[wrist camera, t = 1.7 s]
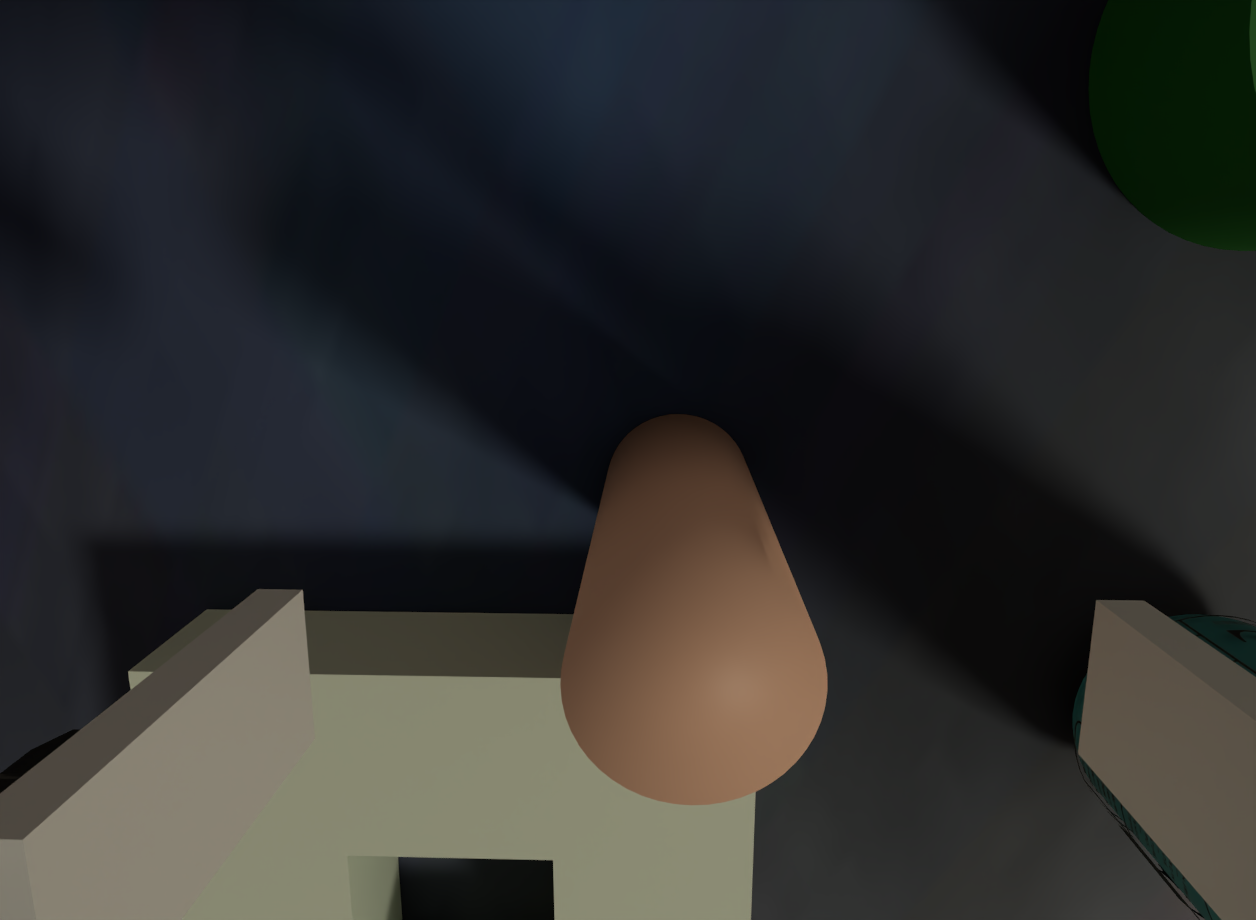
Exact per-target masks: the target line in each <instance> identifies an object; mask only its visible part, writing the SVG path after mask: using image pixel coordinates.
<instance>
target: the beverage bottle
mask: <svg viewBox="0 0 1256 920" xmlns="http://www.w3.org/2000/svg"><path fill="white" fill-rule="evenodd" d="M1219 616H1223V615H1202V614H1186V615H1178V616H1171V617H1169V618H1170V619H1172V620H1173V621H1175V622H1176V623H1178V624H1179V625H1180V626H1182V627H1183V628H1185V629H1186V630H1188V631H1189V632H1191V633H1192V634H1194V635H1195V636H1197V637H1198V638H1199V639H1201V640H1202V641H1204V642H1205V643H1207V644H1208V645H1210V646H1211V647H1213V648H1214V649H1216V650H1217V651H1218V652H1220V653H1221V654H1223V655H1224V656H1226V657H1227V658H1229V659H1230V660H1232V661H1233V662H1234V663H1236V664H1237V665H1239V666H1240V667H1242V668H1243V669H1245V670H1246V671H1248V672H1249V673H1251V674H1252V675H1253V676H1255V677H1256V627H1255V626H1256V625H1254V626H1252V624H1251V625H1250V624H1249V623H1244V622H1241V621H1238V620H1234V619H1229V618H1225V617H1233V616H1224V617H1219ZM1234 618H1239V617H1234ZM1240 619H1243V618H1240ZM1245 620H1247V619H1245ZM1249 621H1251V620H1249ZM1253 622H1254V621H1253ZM1087 673H1088V672H1087ZM1086 681H1087V674H1086V676H1085V677H1084V679H1083V681H1082V683H1081V685H1080V687H1079V690H1078V693H1077V696H1076V699H1075V703H1074V709H1073V723H1072V727H1073V735H1074V746H1075V754H1076V748H1077V752H1078V748H1079V739H1080V731H1081V723H1082V714H1083V706H1084V698H1085V689H1086ZM1075 744H1076V745H1075ZM1079 757H1080V761H1081V763H1082V766H1083V768H1084V772H1085V773H1086V774H1087V776H1088V777H1089V779H1090V782H1091V783H1092V784H1093V785H1094V786H1095V788H1096V791H1097V790H1098V791H1099V793H1100V794H1101V795H1102V796H1103V797H1104V799H1105V800H1106V801H1107V803H1109V804H1108V805H1110V806H1111V807H1112V808H1113V809H1114V811H1115V812H1116V813H1117V814H1118V815H1119V817H1120V819H1121V820H1123V821H1124V823H1125V828H1127V826H1128V828H1127V830H1128V829H1129V830H1131V831H1132V832H1133V833H1134V834H1135V836H1136V837H1137V838H1138V839H1139V840H1140V842H1141V843H1142V844H1143V845H1144V846H1145V848H1146V849H1147V850H1148V851H1149V852H1150V854H1151V855H1152V856H1153V857H1154V858H1155V860H1156V861H1157V862H1158V863H1159V864H1160V865H1159V864H1158V865H1159V866H1160V867H1161V868H1162V870H1163V871H1160V870H1159V869H1158V868H1157V867H1156V866H1155V865H1154V863H1153V862H1152V861H1151V860H1150V859H1149V857H1148V856H1147V855H1146V854H1145V853H1144V851H1143V850H1142V849H1141V848H1140V846H1139V845H1138V844H1137V843H1136V842H1135V840H1134V839H1133V838H1132V837H1133V836H1132V835H1130V833H1128V832H1129V830H1128V832H1127V831H1126V829H1125V828H1124V827H1123V824H1122V823H1120V822H1119V821H1118V820H1117V819H1116V817H1115V816H1116V815H1115V814H1114V815H1115V816H1114V815H1113V813H1112V812H1111V811H1110V810H1109V809H1108V808H1106V807H1107V806H1106V805H1105V804H1104V803H1103V802H1102V803H1103V804H1104V805H1105V806H1106V807H1105V806H1104V805H1103V806H1104V807H1105V808H1106V809H1108V810H1109V811H1110V812H1111V814H1112V815H1113V816H1114V817H1115V818H1114V819H1116V821H1118V822H1119V823H1120V824H1121V826H1122V827H1123V828H1124V829H1125V830H1124V829H1123V828H1122V827H1121V826H1120V825H1119V826H1120V827H1121V829H1122V830H1123V831H1124V832H1125V833H1126V835H1127V836H1128V837H1129V838H1130V840H1131V841H1132V842H1133V843H1134V844H1135V846H1136V847H1137V848H1138V849H1139V851H1140V852H1141V853H1142V854H1143V855H1144V857H1145V858H1146V859H1147V860H1148V861H1149V863H1150V864H1151V865H1152V866H1153V868H1154V869H1155V870H1156V871H1157V872H1158V874H1159V875H1160V876H1161V877H1162V879H1163V880H1164V881H1165V882H1166V883H1167V885H1168V886H1169V887H1170V888H1171V890H1172V891H1173V892H1174V893H1175V894H1176V896H1177V897H1178V898H1179V899H1180V900H1181V901H1182V902H1183V903H1184V904H1185V905H1186V906H1187V907H1189V906H1188V905H1187V903H1186V902H1185V901H1184V900H1183V899H1182V897H1181V896H1180V895H1179V894H1178V893H1177V891H1176V890H1175V889H1174V888H1173V886H1172V885H1171V884H1170V883H1169V882H1168V880H1167V879H1166V878H1165V877H1164V876H1163V874H1164V875H1165V876H1167V877H1168V878H1169V879H1170V880H1171V881H1172V882H1173V883H1174V882H1175V883H1174V884H1175V885H1176V886H1177V888H1180V890H1181V891H1182V892H1183V893H1184V894H1185V896H1186V898H1188V899H1189V901H1190V902H1191V903H1192V904H1193V905H1194V906H1195V908H1196V909H1197V910H1198V911H1199V912H1200V913H1197V912H1196V911H1194V910H1193V909H1191V908H1190V907H1189V908H1190V909H1191V911H1192V912H1193V911H1194V912H1195V913H1197V914H1198V915H1200V916H1201V917H1203V918H1204V919H1205V920H1221V919H1220V917H1219V916H1218V915H1217V914H1216V913H1215V912H1214V911H1213V909H1212V908H1211V907H1210V906H1209V905H1208V904H1207V902H1206V901H1205V900H1204V899H1203V898H1202V897H1201V895H1200V894H1199V893H1198V892H1197V891H1196V890H1195V888H1194V887H1193V886H1192V885H1191V884H1190V883H1189V882H1188V880H1187V879H1186V878H1185V877H1184V876H1183V875H1182V873H1181V872H1180V871H1179V870H1178V869H1177V868H1176V866H1175V865H1174V864H1173V863H1172V862H1171V861H1170V859H1169V858H1168V857H1167V856H1166V855H1165V854H1164V853H1163V851H1162V850H1161V849H1160V848H1159V847H1158V846H1157V844H1156V843H1155V842H1154V841H1153V840H1152V839H1151V837H1150V836H1149V835H1148V834H1147V833H1146V832H1145V830H1144V829H1143V828H1142V827H1141V826H1140V825H1139V824H1138V822H1137V821H1136V820H1135V819H1134V818H1133V817H1132V815H1131V814H1130V813H1129V812H1128V811H1127V810H1126V808H1125V807H1124V806H1123V805H1122V804H1121V803H1120V801H1119V800H1118V799H1117V798H1116V797H1115V796H1114V795H1113V793H1112V792H1111V791H1110V790H1109V789H1108V788H1107V786H1106V785H1105V784H1104V783H1103V782H1102V781H1101V779H1100V778H1099V777H1098V776H1097V775H1096V774H1095V772H1094V771H1093V770H1092V769H1091V768H1090V767H1089V766H1088V764H1087V763H1086V762H1085V761H1084V760H1083V759H1082V757H1081V756H1080V755H1079ZM1076 759H1077V754H1076ZM1077 762H1078V759H1077ZM1078 766H1079V763H1078ZM1079 769H1080V767H1079ZM1080 772H1081V770H1080ZM1081 774H1082V773H1081ZM1082 776H1083V775H1082ZM1083 778H1084V777H1083ZM1084 781H1085V779H1084ZM1085 782H1086V781H1085ZM1086 783H1087V782H1086ZM1087 784H1088V783H1087ZM1087 786H1089V785H1087ZM1094 786H1093V787H1094ZM1089 787H1090V786H1089ZM1090 788H1091V787H1090ZM1090 788H1089V789H1090ZM1091 789H1092V788H1091ZM1090 791H1091V790H1090ZM1098 791H1097V792H1098ZM1093 792H1094V791H1093ZM1094 793H1095V792H1094ZM1095 794H1096V793H1095ZM1096 795H1097V794H1096ZM1097 797H1098V796H1097ZM1098 798H1099V797H1098ZM1099 799H1100V798H1099ZM1100 800H1101V799H1100ZM1101 801H1102V800H1101ZM1107 812H1108V811H1107ZM1113 816H1112V817H1113ZM1117 817H1118V816H1117ZM1119 817H1118V818H1119ZM1126 825H1127V826H1126ZM1131 836H1132V837H1131ZM1164 870H1165V871H1164ZM1161 872H1162V873H1163V874H1162V873H1161ZM1169 876H1170V877H1169ZM1194 912H1193V913H1194ZM1195 913H1194V914H1195ZM1195 915H1196V914H1195ZM1196 917H1197V916H1196ZM1197 918H1198V917H1197ZM1198 919H1199V918H1198ZM1199 920H1200V919H1199Z"/></svg>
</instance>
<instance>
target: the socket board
mask: <svg viewBox="0 0 1256 920" xmlns="http://www.w3.org/2000/svg"><path fill="white" fill-rule="evenodd" d="M230 611H231V610H218V609H207V610H205V611H204V612H203V613H202V614H200V615H199V616H198V617H197V618H195V619H194V620H193V621H191V622H190V623H189V624H188V625H186V626H185V627H184V628H183V629H181V630H180V631H179V632H177V633H176V634H175V635H174V636H172V637H171V638H170V639H169V640H167V641H166V642H165V643H163V644H162V645H161V646H160V647H158V648H157V649H156V650H155V651H153V652H152V653H151V654H149V655H148V656H147V657H146V658H144V659H143V660H142V661H141V662H139V663H138V664H137V665H136V666H134V667H133V668H132V669H130V670H129V671H128V675H129V682H130V689H133V688H134V687H135V686H136V685H138V684H139V683H140V682H141V681H143V680H144V679H145V678H146V677H148V676H149V675H150V674H152V673H153V672H154V671H155V670H157V669H158V668H159V667H160V666H162V665H163V664H164V663H165V662H167V661H168V660H169V659H170V658H172V657H173V656H174V655H175V654H177V653H178V652H179V651H181V650H182V649H183V648H184V647H186V646H187V645H188V644H189V643H191V642H192V641H193V640H194V639H196V638H197V637H198V636H199V635H201V634H202V633H203V632H204V631H206V630H207V629H208V628H210V627H211V626H212V625H213V624H215V623H216V622H217V621H218V620H220V619H221V618H222V617H223V616H225V615H226V614H227V613H228V612H230ZM304 612H305V624H306V636H307V648H308V660H309V672H310V684H311V696H312V708H313V720H314V732H315V739H314V741H313V742H312V743H311V745H310V746H309V748H308V749H307V750H306V752H305V753H304V754H303V756H302V757H301V758H300V760H299V761H298V762H297V764H296V765H295V767H294V768H293V769H292V771H291V772H290V773H289V775H288V776H287V777H286V779H285V780H284V781H283V783H282V784H281V786H280V787H279V788H278V790H277V791H276V792H275V794H274V795H273V796H272V798H271V799H270V800H269V802H268V803H267V805H266V806H265V807H264V809H263V810H262V811H261V813H260V814H259V815H258V817H257V818H256V819H255V821H254V822H253V824H252V825H251V826H250V828H249V829H248V830H247V832H246V833H245V834H244V836H243V837H242V838H241V840H240V841H239V843H238V844H237V845H236V847H235V848H234V849H233V851H232V852H231V853H230V855H229V856H228V857H227V859H226V860H225V862H224V863H223V864H222V866H221V867H220V868H219V870H218V871H217V872H216V874H215V875H214V876H213V878H212V879H211V880H210V882H209V883H208V885H207V886H206V887H205V889H204V890H203V891H202V893H201V894H200V895H199V897H198V898H197V899H196V901H195V902H194V904H193V905H192V906H191V908H190V909H189V910H188V912H187V913H186V914H185V916H184V917H183V918H182V920H402V907H401V893H400V879H399V864H398V857H433V858H476V859H520V860H553V879H554V920H751V900H752V872H753V845H754V817H755V792H753V793H751V794H749V795H746V796H744V797H741V798H738V799H734V800H731V801H727V802H722V803H716V804H709V805H680V804H672V803H667V802H661V801H657V800H654V799H651V798H648V797H644V796H641V795H639V794H637V793H635V792H633V791H631V790H628V789H626V788H625V787H623V786H621V785H620V784H618V783H617V782H615V781H613V780H612V779H611V778H609V777H608V776H607V775H606V774H604V773H603V772H602V771H601V770H599V769H598V768H597V766H596V765H595V764H594V763H593V762H592V761H591V760H590V759H589V758H588V757H587V756H586V754H585V753H584V752H583V750H582V749H581V748H580V746H579V745H578V743H577V741H576V739H575V737H574V736H573V734H572V732H571V730H570V727H569V725H568V722H567V720H566V717H565V713H564V709H563V705H562V699H561V688H560V681H561V668H562V663H563V657H564V653H565V648H566V644H567V640H568V636H569V632H570V628H571V623H572V619H573V615H574V614H519V613H443V612H368V611H304Z"/></svg>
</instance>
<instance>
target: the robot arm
mask: <svg viewBox="0 0 1256 920" xmlns="http://www.w3.org/2000/svg"><path fill="white" fill-rule="evenodd" d="M314 739H315V732H314V720H313V708H312V696H311V684H310V672H309V660H308V648H307V636H306V624H305V612H304V600H303V590H286V589H257V590H256V591H255V592H254V593H252V594H251V595H250V596H249V597H247V598H246V599H245V600H244V601H242V602H241V603H240V604H239V605H237V606H236V607H235V608H233V609H232V610H231V611H230V612H228V613H227V614H226V615H225V616H223V617H222V618H221V619H220V620H218V621H217V622H216V623H215V624H213V625H212V626H211V627H210V628H208V629H207V630H206V631H204V632H203V633H202V634H201V635H199V636H198V637H197V638H196V639H194V640H193V641H192V642H191V643H189V644H188V645H187V646H186V647H184V648H183V649H182V650H181V651H179V652H178V653H177V654H175V655H174V656H173V657H172V658H170V659H169V660H168V661H167V662H165V663H164V664H163V665H162V666H160V667H159V668H158V669H157V670H155V671H154V672H153V673H152V674H150V675H149V676H148V677H146V678H145V679H144V680H143V681H141V682H140V683H139V684H138V685H136V686H135V687H134V688H133V689H131V690H130V691H129V692H128V693H126V694H125V695H124V696H123V697H121V698H120V699H119V700H117V701H116V702H115V703H114V704H112V705H111V706H110V707H109V708H107V709H106V710H105V711H104V712H102V713H101V714H100V715H99V716H97V717H96V718H95V719H94V720H92V721H91V722H90V723H88V724H87V725H86V726H85V727H83V728H82V729H81V730H71V731H69V732H67V733H65V734H63V735H61V736H59V737H57V738H55V739H53V740H51V741H49V742H47V743H44V744H42V745H40V746H38V747H36V748H34V749H32V750H30V751H29V752H28V753H26V754H25V755H24V756H23V757H21V758H20V759H19V760H17V761H16V762H15V763H13V764H12V765H11V766H9V767H8V768H7V769H6V770H4V771H3V772H2V773H0V920H182V918H183V917H184V916H185V914H186V913H187V912H188V910H189V909H190V908H191V906H192V905H193V904H194V902H195V901H196V899H197V898H198V897H199V895H200V894H201V893H202V891H203V890H204V889H205V887H206V886H207V885H208V883H209V882H210V880H211V879H212V878H213V876H214V875H215V874H216V872H217V871H218V870H219V868H220V867H221V866H222V864H223V863H224V862H225V860H226V859H227V857H228V856H229V855H230V853H231V852H232V851H233V849H234V848H235V847H236V845H237V844H238V843H239V841H240V840H241V838H242V837H243V836H244V834H245V833H246V832H247V830H248V829H249V828H250V826H251V825H252V824H253V822H254V821H255V819H256V818H257V817H258V815H259V814H260V813H261V811H262V810H263V809H264V807H265V806H266V805H267V803H268V802H269V800H270V799H271V798H272V796H273V795H274V794H275V792H276V791H277V790H278V788H279V787H280V786H281V784H282V783H283V781H284V780H285V779H286V777H287V776H288V775H289V773H290V772H291V771H292V769H293V768H294V767H295V765H296V764H297V762H298V761H299V760H300V758H301V757H302V756H303V754H304V753H305V752H306V750H307V749H308V748H309V746H310V745H311V743H312V742H313V741H314ZM1078 754H1079V755H1080V756H1081V757H1082V759H1083V760H1084V761H1085V762H1086V763H1087V764H1088V766H1089V767H1090V768H1091V769H1092V770H1093V771H1094V772H1095V774H1096V775H1097V776H1098V777H1099V778H1100V779H1101V781H1102V782H1103V783H1104V784H1105V785H1106V786H1107V788H1108V789H1109V790H1110V791H1111V792H1112V793H1113V795H1114V796H1115V797H1116V798H1117V799H1118V800H1119V801H1120V803H1121V804H1122V805H1123V806H1124V807H1125V808H1126V810H1127V811H1128V812H1129V813H1130V814H1131V815H1132V817H1133V818H1134V819H1135V820H1136V821H1137V822H1138V824H1139V825H1140V826H1141V827H1142V828H1143V829H1144V830H1145V832H1146V833H1147V834H1148V835H1149V836H1150V837H1151V839H1152V840H1153V841H1154V842H1155V843H1156V844H1157V846H1158V847H1159V848H1160V849H1161V850H1162V851H1163V853H1164V854H1165V855H1166V856H1167V857H1168V858H1169V859H1170V861H1171V862H1172V863H1173V864H1174V865H1175V866H1176V868H1177V869H1178V870H1179V871H1180V872H1181V873H1182V875H1183V876H1184V877H1185V878H1186V879H1187V880H1188V882H1189V883H1190V884H1191V885H1192V886H1193V887H1194V888H1195V890H1196V891H1197V892H1198V893H1199V894H1200V895H1201V897H1202V898H1203V899H1204V900H1205V901H1206V902H1207V904H1208V905H1209V906H1210V907H1211V908H1212V909H1213V911H1214V912H1215V913H1216V914H1217V915H1218V916H1219V917H1220V919H1221V920H1256V677H1255V676H1253V675H1252V674H1251V673H1249V672H1248V671H1246V670H1245V669H1243V668H1242V667H1240V666H1239V665H1237V664H1236V663H1234V662H1233V661H1232V660H1230V659H1229V658H1227V657H1226V656H1224V655H1223V654H1221V653H1220V652H1218V651H1217V650H1216V649H1214V648H1213V647H1211V646H1210V645H1208V644H1207V643H1205V642H1204V641H1202V640H1201V639H1199V638H1198V637H1197V636H1195V635H1194V634H1192V633H1191V632H1189V631H1188V630H1186V629H1185V628H1183V627H1182V626H1180V625H1179V624H1178V623H1176V622H1175V621H1173V620H1172V619H1170V618H1169V617H1167V616H1166V615H1164V614H1163V613H1161V612H1160V611H1159V610H1157V609H1156V608H1154V607H1153V606H1151V605H1150V604H1148V603H1147V602H1145V601H1138V600H1096V606H1095V614H1094V622H1093V631H1092V639H1091V648H1090V656H1089V664H1088V673H1087V681H1086V689H1085V698H1084V706H1083V714H1082V723H1081V731H1080V739H1079V748H1078Z"/></svg>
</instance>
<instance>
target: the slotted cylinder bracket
mask: <svg viewBox="0 0 1256 920" xmlns="http://www.w3.org/2000/svg"><path fill="white" fill-rule="evenodd" d="M1089 106H1090V116H1091V121H1092V127H1093V132H1094V136H1095V139H1096V142H1097V145H1098V149H1099V152H1100V154H1101V156H1102V159H1103V161H1104V163H1105V166H1106V168H1107V170H1108V171H1109V173H1110V175H1111V176H1112V178H1113V180H1114V182H1115V183H1116V185H1117V186H1118V187H1119V189H1120V190H1121V191H1122V193H1123V194H1124V195H1125V197H1126V198H1127V199H1128V200H1129V201H1130V202H1131V203H1132V204H1133V205H1134V206H1135V207H1136V208H1137V210H1138V211H1139V212H1141V213H1142V214H1143V215H1144V216H1146V217H1147V218H1148V219H1149V220H1151V221H1152V222H1153V223H1155V224H1156V225H1158V226H1159V227H1161V228H1163V229H1164V230H1166V231H1168V232H1169V233H1171V234H1174V235H1176V236H1178V237H1180V238H1182V239H1184V240H1187V241H1190V242H1193V243H1196V244H1200V245H1203V246H1208V247H1213V248H1218V249H1225V250H1238V251H1256V0H1108V2H1107V4H1106V6H1105V9H1104V11H1103V14H1102V17H1101V20H1100V23H1099V26H1098V29H1097V32H1096V37H1095V41H1094V45H1093V49H1092V55H1091V62H1090V70H1089Z"/></svg>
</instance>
